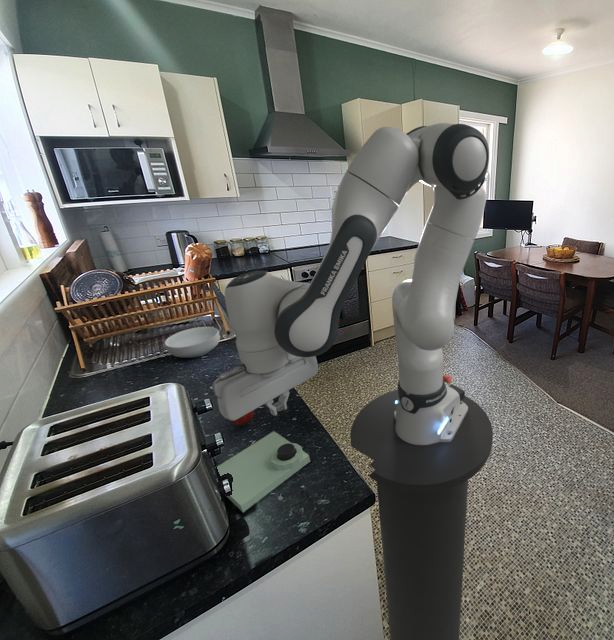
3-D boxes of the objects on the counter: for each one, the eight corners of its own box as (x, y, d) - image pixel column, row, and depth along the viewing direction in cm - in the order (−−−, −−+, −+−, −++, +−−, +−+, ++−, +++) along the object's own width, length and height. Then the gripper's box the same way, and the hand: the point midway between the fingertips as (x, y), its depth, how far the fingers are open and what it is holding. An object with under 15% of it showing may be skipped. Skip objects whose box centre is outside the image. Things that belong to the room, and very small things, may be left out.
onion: (229, 423, 92) (222, 399, 89) (252, 414, 96) (246, 390, 92) (235, 435, 88) (228, 409, 85) (259, 425, 92) (253, 400, 88)
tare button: (289, 446, 80) (288, 441, 79) (298, 453, 78) (297, 447, 77) (275, 456, 77) (273, 450, 77) (284, 463, 75) (283, 457, 75)
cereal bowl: (190, 342, 136) (185, 325, 134) (232, 342, 136) (227, 326, 133) (158, 364, 121) (152, 346, 118) (204, 365, 120) (199, 347, 117)
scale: (275, 436, 87) (272, 425, 86) (311, 461, 80) (308, 450, 78) (209, 479, 75) (204, 467, 74) (243, 513, 68) (239, 500, 66)
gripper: (218, 385, 58) (238, 447, 64) (317, 338, 73) (326, 392, 79) (201, 373, 61) (221, 434, 67) (299, 331, 77) (309, 384, 82)
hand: (279, 411), depth 73 cm, fingers closed
